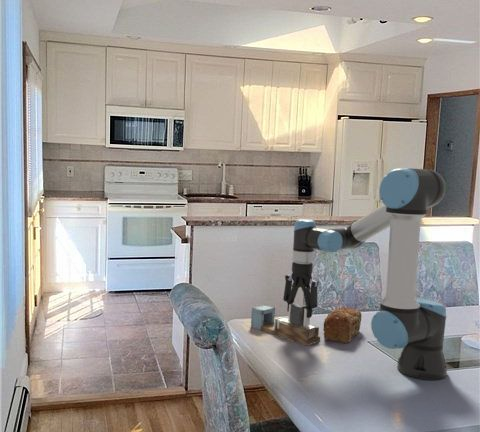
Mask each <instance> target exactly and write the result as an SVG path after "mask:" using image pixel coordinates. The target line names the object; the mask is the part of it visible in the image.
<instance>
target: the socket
mask: <svg viewBox="0 0 480 432" xmlns="http://www.w3.org/2000/svg"><path fill="white" fill-rule="evenodd" d="M275 313H276V307H275V306H271V305H268V304H262V305H259V306H255V307H252V308H251V316H250V317H251V320H250V321H251V322H250V328H254V329H256V330H260V331H262V330H261V326H263V321H267V322H270V323H274V322H275V315H276V314H275Z"/></svg>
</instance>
